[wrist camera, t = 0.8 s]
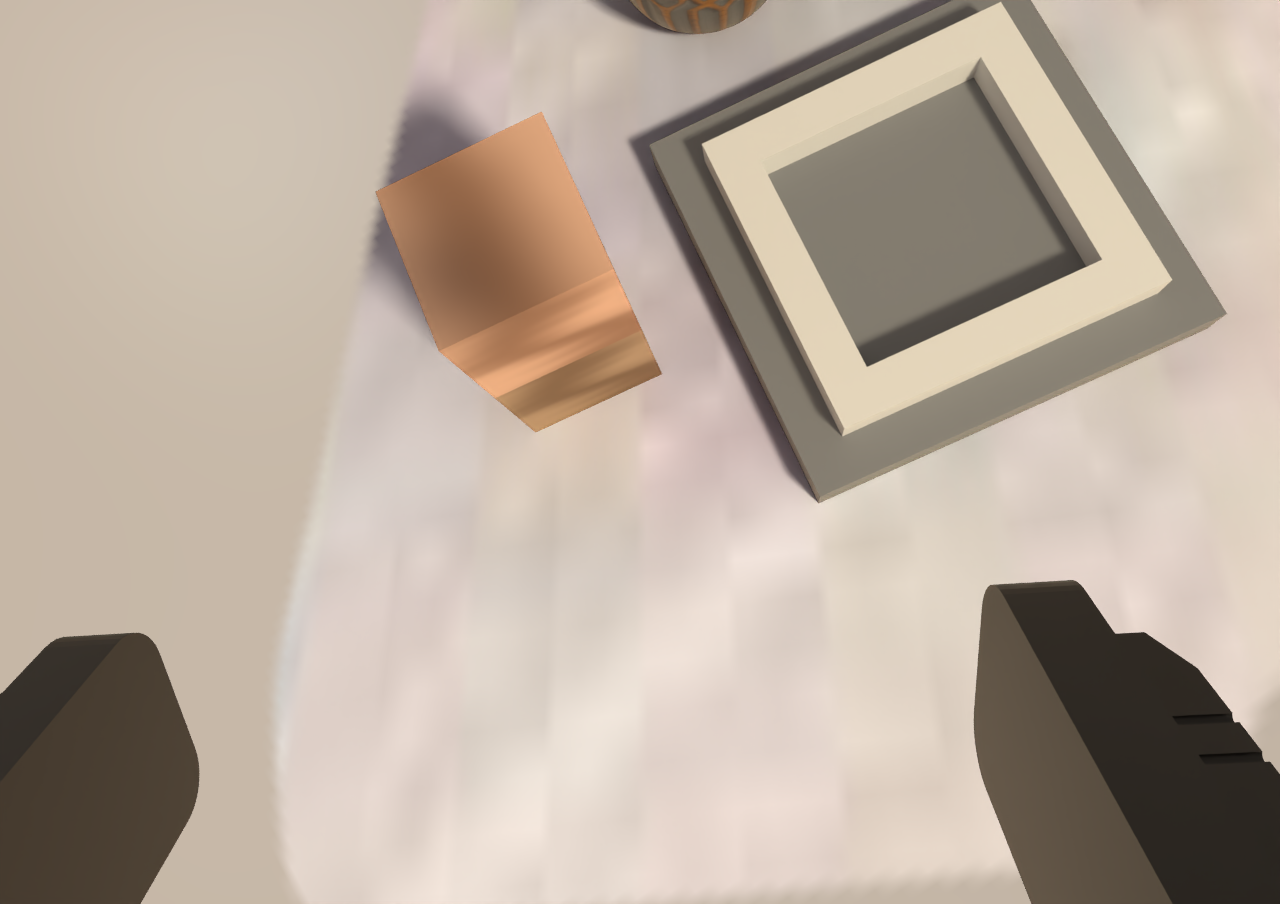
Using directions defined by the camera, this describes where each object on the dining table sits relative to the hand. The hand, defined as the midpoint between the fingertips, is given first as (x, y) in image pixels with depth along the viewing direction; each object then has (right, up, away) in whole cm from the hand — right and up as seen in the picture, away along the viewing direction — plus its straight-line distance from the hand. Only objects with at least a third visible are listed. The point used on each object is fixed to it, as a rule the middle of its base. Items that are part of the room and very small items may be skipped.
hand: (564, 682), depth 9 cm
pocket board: (+10, +10, +25) cm, 28 cm away
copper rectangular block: (-2, +6, +26) cm, 27 cm away
